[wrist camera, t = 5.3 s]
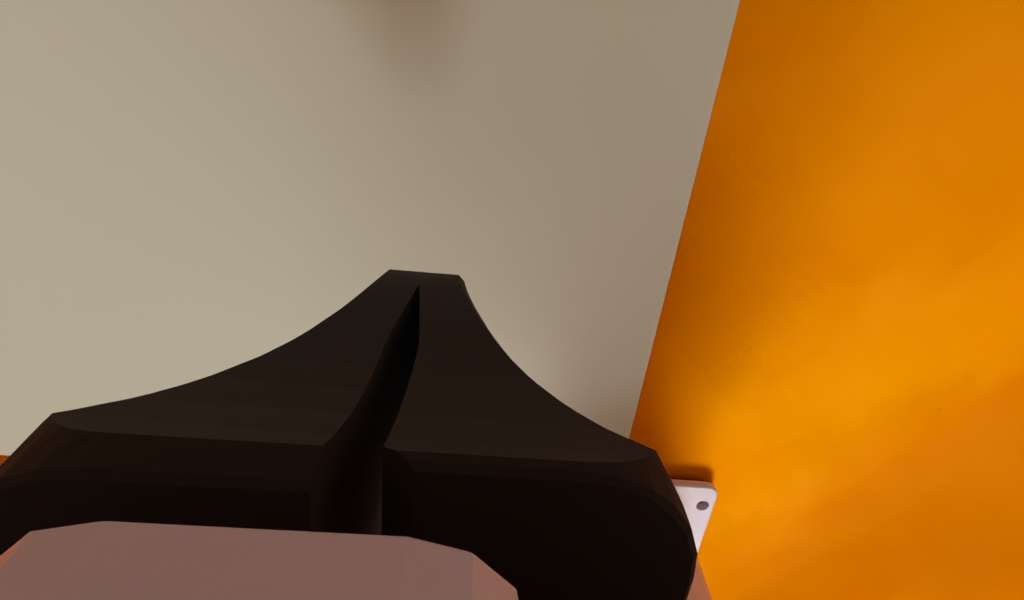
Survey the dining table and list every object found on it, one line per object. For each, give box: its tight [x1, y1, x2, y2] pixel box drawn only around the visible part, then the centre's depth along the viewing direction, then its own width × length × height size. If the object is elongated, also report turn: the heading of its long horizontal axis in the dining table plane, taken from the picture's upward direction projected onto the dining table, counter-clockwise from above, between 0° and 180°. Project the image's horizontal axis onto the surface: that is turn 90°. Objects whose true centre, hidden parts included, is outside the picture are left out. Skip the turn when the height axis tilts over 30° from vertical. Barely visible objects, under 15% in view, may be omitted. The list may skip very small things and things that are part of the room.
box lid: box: [0, 0, 740, 456], centre depth 16 cm, size 17×18×1 cm
